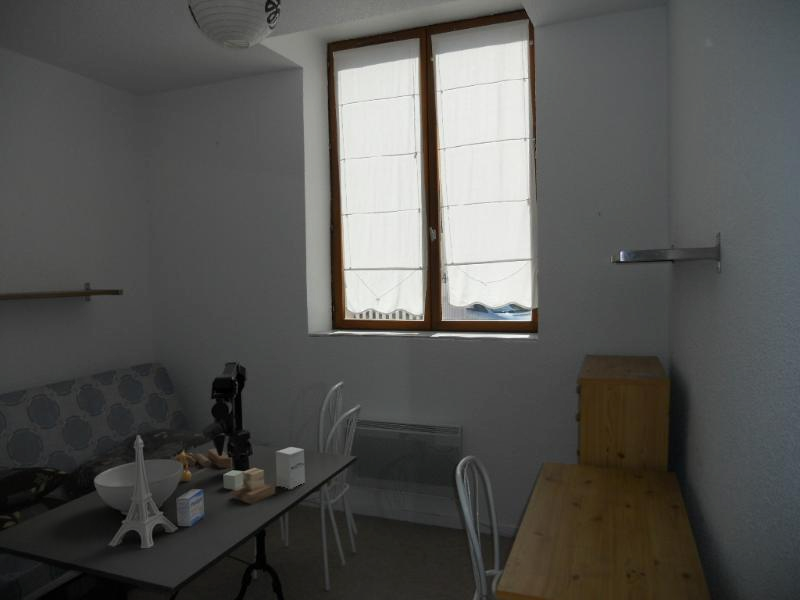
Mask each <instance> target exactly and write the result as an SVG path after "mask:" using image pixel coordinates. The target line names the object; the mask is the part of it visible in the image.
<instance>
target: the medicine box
mask: <svg viewBox="0 0 800 600" xmlns="http://www.w3.org/2000/svg"><path fill="white" fill-rule="evenodd" d="M175 499H176V500H175V501H176V516H177V518H176V519H177V526H179V527H192V526H194V525H195V524H196V523H197V522H198V521H200V520H201V519H203V518H204V517H205V505H204V504H205V503H204V502H205V501H204V490H203V489H199V488H195V489H193V488H192V489H190V490H188V491H186V492H185V493H183V494H182V495H180V496H179V497H177V498H175Z"/></svg>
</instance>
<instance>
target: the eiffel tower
mask: <svg viewBox="0 0 800 600" xmlns="http://www.w3.org/2000/svg"><path fill="white" fill-rule="evenodd" d="M133 443H134V445H133V448H134V450H135V462H136V470H135V486H134V495H133V497H132V498H131V500H133V501H132V504H131V507H130V510H129V513H128V515H126V517H125V519H123V520H122V521H121V523H122V524H121V526H120V527H119V529H118V531H117V532H116V533H115V535H114V537H113V538H112V540H111V541H110V542H109V544H108V545H113V546H112V547H115V545H118V544H119V545H121V544H122V543H123V538H124V536H125V535H126V533H127V532H129V531H133V530H134V531H136V533H138V534H139V536H140V539H141V546H140V548H149V547H151V546H153V544H155V543H154V541H153V529H154V527H155V526H156V525H161V526H162V527H163V528H164V532H165V533H172V532H173V533H174V532H176V531H178V530H179V527H177V526H176V525H174V524H173V523H172V521H170V520H169V519H168V518H167V517H165V516H164V515H163V514H164V511H160V510H159V509H158V508H157V507H156V505H155V503H154V502H153V500H152V498H151V496H152V493H150V491H149V487H148V483H147V478H146V473H145V466H144V461H145V460H144V450H143V449H144V447H145V444H144V441H143V439H142V437H141V435H139V434H138V435H136V439H135V441H134V442H133ZM147 506H148V509H149V511H148V510H147ZM136 511H137V513H136ZM175 530H176V531H175ZM121 542H122V543H121ZM120 543H121V544H120ZM119 545H118V546H119ZM153 547H154V546H153ZM151 548H152V547H151Z"/></svg>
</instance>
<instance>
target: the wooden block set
mask: <svg viewBox="0 0 800 600" xmlns="http://www.w3.org/2000/svg"><path fill="white" fill-rule="evenodd" d="M185 454H186V455H188V456H191V457H192V458H193V459H194V460H195V461H193V460H192V459H191V458H188V457H186V459H185V461H187V463H188V467H195V466H196V465H195V464H196V463H195V462H197V463H198V464H199V465H200V466H202V467H203V468H204V469H209V468H210V467H211V466H212V464H213V465H214V466H215V465H216V466H217V467H218V468H220V469H229V468H232V457H230V458H228V454H227V453H226V452H225V451H224V450H223V453H222V456H219V455H218V453H217V450H216V448H215V447H214V448H211V449H208V450H207V457H206V456H205V455H203V454H202V453H196V455H194V454H193V453H192V452H189V453H188V452H187V453H185ZM176 461H178V462H180V461H181V459H180V458H177V459H176ZM186 466H187V465H185V463H184V464H183V467H186Z"/></svg>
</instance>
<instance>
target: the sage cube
mask: <svg viewBox="0 0 800 600" xmlns="http://www.w3.org/2000/svg"><path fill="white" fill-rule="evenodd" d="M231 470H232V469H231ZM243 472H244V471H235V470H232V471H230V472H229V471H228V472H226V473H224V474H223V475H222V476H223V478H222V479H223V489H225V488H226V489H228V490H233V489H235V488H237V487H240V486H242V485H243Z"/></svg>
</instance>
